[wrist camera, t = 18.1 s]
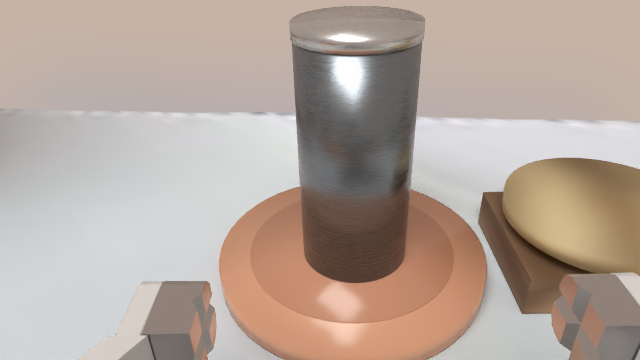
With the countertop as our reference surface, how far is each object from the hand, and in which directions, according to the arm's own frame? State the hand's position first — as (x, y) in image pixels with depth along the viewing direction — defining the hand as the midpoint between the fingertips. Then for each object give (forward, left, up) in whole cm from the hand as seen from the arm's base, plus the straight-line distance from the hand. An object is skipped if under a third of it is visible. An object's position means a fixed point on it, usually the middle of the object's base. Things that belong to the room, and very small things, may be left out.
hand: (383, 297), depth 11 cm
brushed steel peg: (0, +11, -7) cm, 13 cm away
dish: (0, +11, -8) cm, 13 cm away
